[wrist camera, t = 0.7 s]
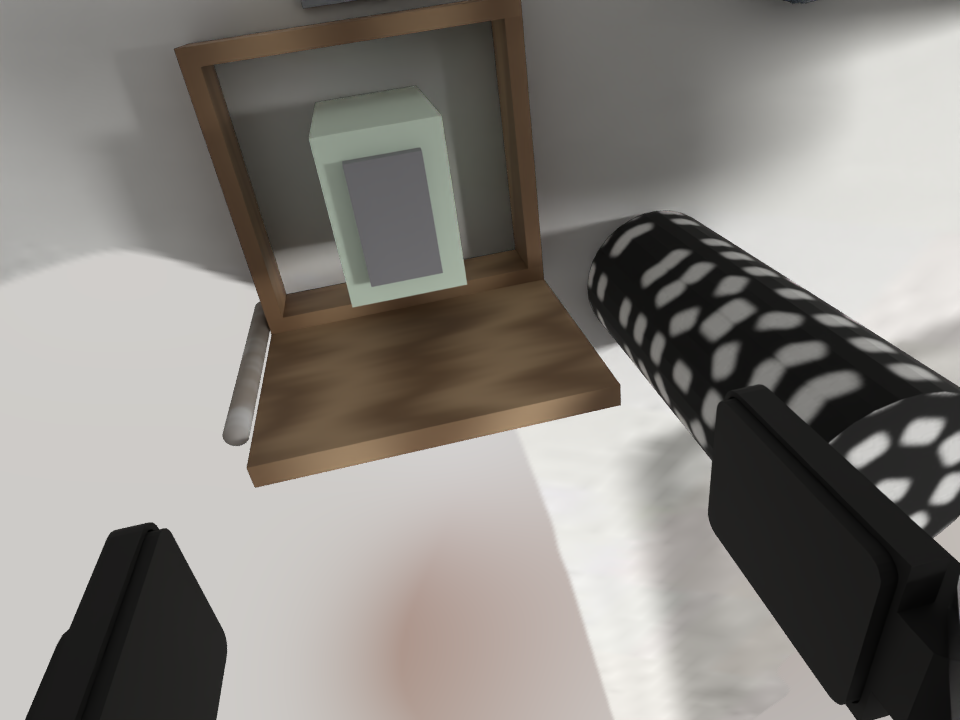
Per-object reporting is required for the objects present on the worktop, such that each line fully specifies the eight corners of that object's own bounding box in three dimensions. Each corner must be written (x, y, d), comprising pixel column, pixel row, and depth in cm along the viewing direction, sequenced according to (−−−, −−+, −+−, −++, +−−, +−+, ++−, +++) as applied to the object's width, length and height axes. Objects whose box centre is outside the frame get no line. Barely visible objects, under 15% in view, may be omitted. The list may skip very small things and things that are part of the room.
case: (504, -6, 30) (614, -4, 18) (531, 275, 38) (620, 404, 26) (163, 47, 29) (41, 87, 17) (261, 329, 36) (225, 494, 24)
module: (415, 85, 32) (443, 118, 23) (438, 220, 35) (469, 289, 27) (315, 102, 31) (307, 141, 23) (349, 238, 35) (352, 313, 27)
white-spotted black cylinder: (731, 215, 38) (1044, 391, 22) (692, 337, 42) (930, 567, 25) (603, 205, 37) (836, 391, 20) (575, 334, 41) (748, 581, 24)
